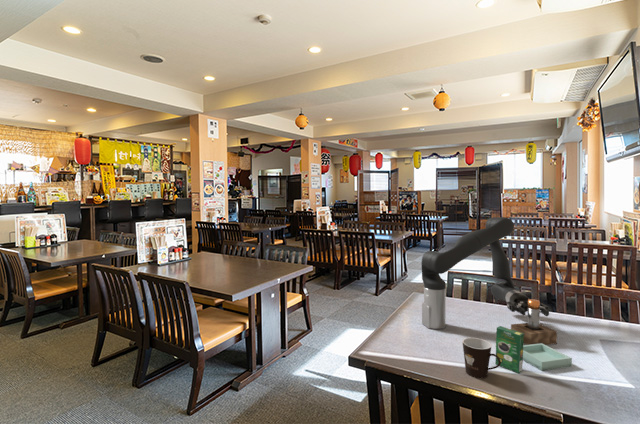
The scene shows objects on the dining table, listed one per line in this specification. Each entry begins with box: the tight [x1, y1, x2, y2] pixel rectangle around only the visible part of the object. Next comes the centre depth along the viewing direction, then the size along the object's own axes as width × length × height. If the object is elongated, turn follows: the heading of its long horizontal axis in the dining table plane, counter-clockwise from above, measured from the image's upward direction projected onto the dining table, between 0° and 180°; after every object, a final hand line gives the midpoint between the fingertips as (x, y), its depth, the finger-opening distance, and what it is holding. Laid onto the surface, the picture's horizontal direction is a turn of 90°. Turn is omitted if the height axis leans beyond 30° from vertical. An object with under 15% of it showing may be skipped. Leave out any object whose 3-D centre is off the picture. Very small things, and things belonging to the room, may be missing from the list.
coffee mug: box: [462, 337, 501, 379], centre depth 109 cm, size 12×9×10 cm
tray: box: [523, 343, 573, 372], centre depth 119 cm, size 12×12×3 cm
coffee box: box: [495, 325, 524, 374], centre depth 114 cm, size 8×3×13 cm, turn 35°
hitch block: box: [510, 322, 558, 346], centre depth 136 cm, size 12×10×5 cm
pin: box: [527, 298, 541, 331], centre depth 136 cm, size 4×4×16 cm
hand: (536, 313), depth 134 cm, fingers open, 8 cm apart
